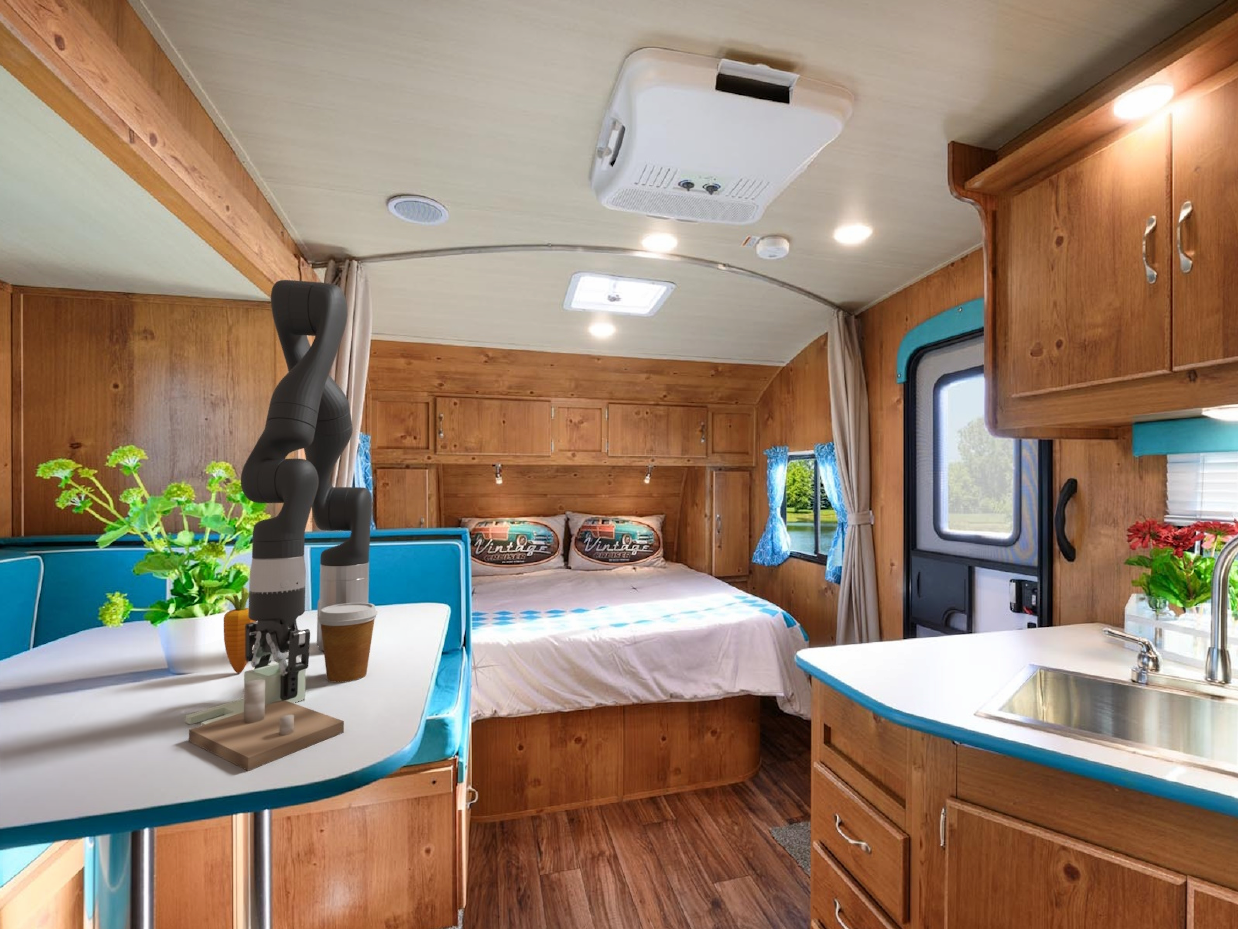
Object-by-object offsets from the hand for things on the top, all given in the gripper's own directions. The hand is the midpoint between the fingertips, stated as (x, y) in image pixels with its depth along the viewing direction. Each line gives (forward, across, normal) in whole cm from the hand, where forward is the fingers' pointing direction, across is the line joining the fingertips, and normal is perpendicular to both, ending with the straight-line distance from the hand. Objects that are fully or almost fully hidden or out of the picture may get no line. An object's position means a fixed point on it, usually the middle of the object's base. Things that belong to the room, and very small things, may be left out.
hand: (275, 694), depth 86 cm
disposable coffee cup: (+1, +2, -13) cm, 13 cm away
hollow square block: (+1, 0, +4) cm, 4 cm away
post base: (+2, -11, +7) cm, 13 cm away
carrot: (+1, +20, -4) cm, 20 cm away
